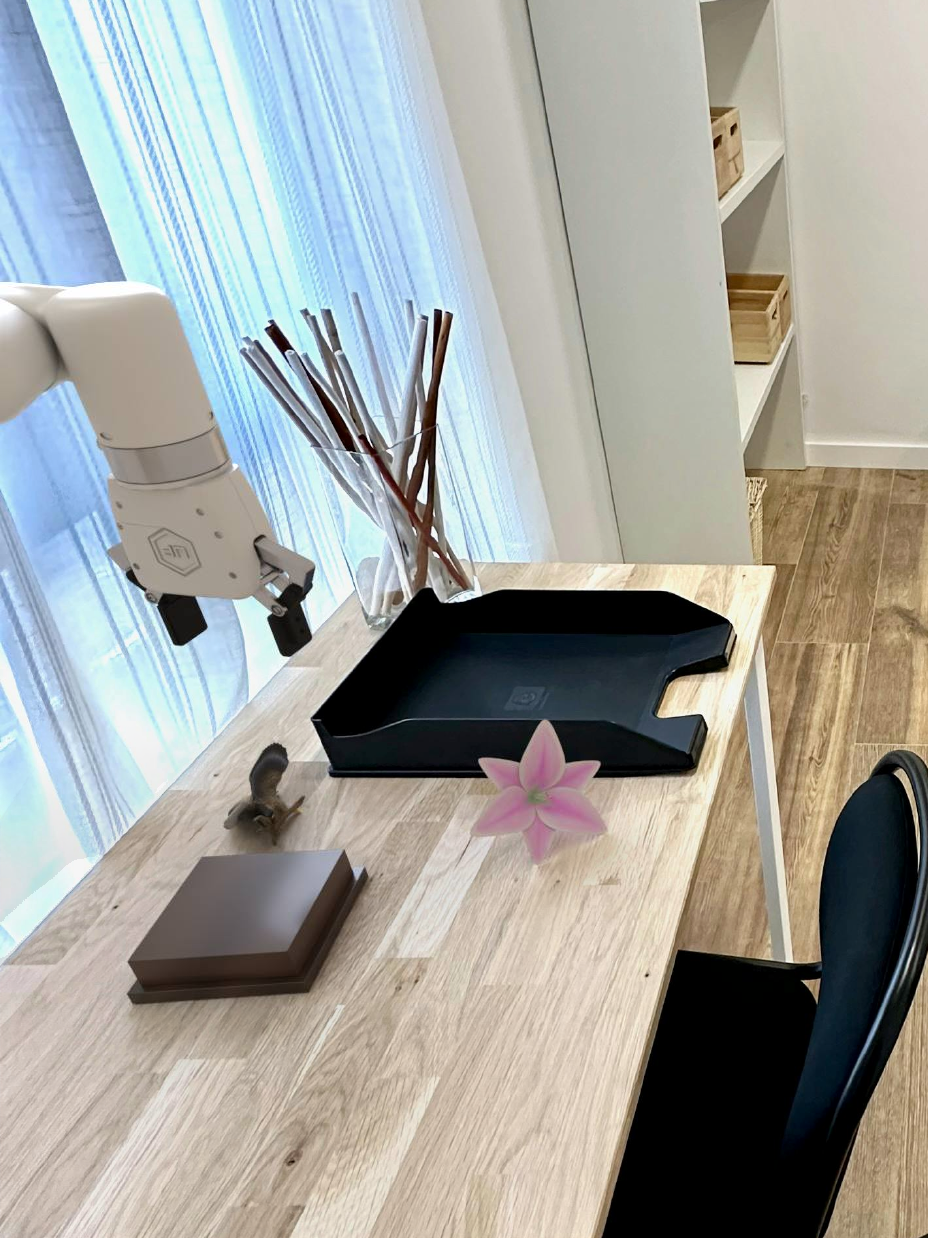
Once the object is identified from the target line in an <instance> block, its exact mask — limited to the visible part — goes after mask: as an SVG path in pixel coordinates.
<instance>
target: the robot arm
mask: <svg viewBox="0 0 928 1238" xmlns="http://www.w3.org/2000/svg"><path fill="white" fill-rule="evenodd" d="M66 382H69V383H72V385H73V386H74V388H75V391H76V393H77V396H78V398H79V400H80V403H81V404H82V408H83V409H84V411H85V413H86V416H87V418H88V421H89V423H90V425H91V428H92V429H93V432H94V434H95V436H96V441H95V442H96V446H97V449H99V450H100V451H102V453H103V455H104V457H105V459H106V462H107V465H108V467H109V469H110V471H111V472H109V473H108V474H107V476H106V486H107V493H108V498H109V503H110V508H111V512H112V515H113V519H114V522H115V526H116V530H117V532H118V535H119V538H120V542H118V543H117V544H115V545H113V546H112V547H111V546H110V548H109V547H108V549H107V550H106V553H107V555H108V557H109V558H110V559H111V560H112V561H113V562H114V563H115V564H116V565H117V566H118V567H119V568H120V569H121V570H122V571H123V572H124V571H125V578H126V579H127V580H128V581H129V582H130V583H132V584H133V585H134V586H136V587H137V588H138V589H140V590H141V591H142V592H144V595H143V596H144V599H145V600H146V602H148V603H149V604H152V605H156V609H157V611H158V614H159V615H160V617H161V620H162V623H163V624H164V626H165V629H166V631H167V634H168V635H169V638H170V640H171V642H172V645H174V646H175V647H183V646H184V647H185V645H187V644H189V642H191V641H193V640H194V639H196V638H197V637H198V636H200V635H201V634H203V633H204V632H205V631H207V630H208V627H209V626H208V623H207V621H206V618H205V616H204V614H203V611H202V609H201V607H200V604H199V601H198V599H197V598H206V599H207V598H209V599H217V600H218V599H219V600H231V601H232V600H233V601H239V600H241V601H242V600H246V599H248V598H250V597H253V598H254V600H256V601H257V602H258V603H260V605H262V606H263V607H264V608H266V609H267V610H268V611H269V612H270V614H269V615H268V616H267V617H266V620H267V624H268V626H269V628H270V632H271V634H272V637H273V639H274V642H275V644H276V646H277V649H278V652H279V654H280V655H281V656H282V657H284V658H291V657H293V656H294V655H295V654H296V653H298V652H300V651H301V650H302V649H303V648H304V647H305V646H307V645H308V644H309V643H310V642H311V641H312V639H313V634H312V631H311V628H310V625H309V623H308V620H307V617H306V614H305V612H304V608H303V605H302V602H304V601H305V600H306V598H307V595H308V594H309V593H310V591H312V589H313V587H314V583H313V581H314V576H315V572H316V563H315V562H314V561H312V560H311V559H309V558H307V557H305V556H303V555H302V554H300V553H297V552H295V551H294V550H291V549H289V548H287V547H285V546H283V545H281V544H279V542H278V540H277V538H276V535H275V532H274V529H273V528H272V525H271V523H270V521H269V519H268V516H267V514H266V512H265V510H264V508H263V506H262V504H261V502H260V500H259V498H258V497H257V495H256V493H255V490H254V489H253V487H252V485H251V484H250V482H249V480H248V479H247V477H246V476H245V474H244V472H243V471H242V469H241V467H240V466H239V465H238V464H237V463H233V461H232V457H231V455H230V451H229V449H228V446H227V444H226V441H225V438H224V436H223V433H222V430H221V428H220V425H219V422H218V420H217V417H216V415H215V413H214V410H213V406H212V404H211V401H210V398H209V395H208V393H207V389H206V387H205V384H204V382H203V378H202V376H201V374H200V371H199V368H198V365H197V362H196V360H195V358H194V355H193V352H192V349H191V346H190V343H189V341H188V339H187V335H186V333H185V331H184V328H183V325H182V322H181V319H180V316H179V314H178V312H177V310H176V307H175V305H174V303H173V300H171V299H170V297H169V296H168V294H166V293H165V292H164V291H163V290H161V289H160V288H158V287H157V286H154V285H151V284H147V283H143V282H136V281H109V282H98V283H91V284H85V285H80V286H74V287H71V286H56V285H42V284H33V283H32V284H31V283H21V282H9V281H8V282H6V281H0V426H3V425H5V424H6V423H9V422H11V421H13V420H14V419H16V418H17V417H18V416H20V415H21V414H22V413H23V412H25V411H26V410H27V409H28V408H30V406H31V405H32V404H33V403H34V402H35V401H36V400H37V399H39V397H40V396H41V395H42V394H45V393H47V392H48V391H51V390H52V389H53V388H56V387H58V386H60V385H62V384H64V383H66ZM285 573H286V574H287V575H288V576H287V575H285ZM270 584H271V585H272V586H274V588H276V589H277V590H279V592H281V593H280V595H278V596H277V595H275V594H274V593H273V592H272V591H270V589H268V588H267V586H269V585H270Z"/></svg>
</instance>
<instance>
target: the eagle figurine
mask: <svg viewBox="0 0 928 1238" xmlns="http://www.w3.org/2000/svg"><path fill="white" fill-rule="evenodd" d="M288 755H289V754H288V752H287V747H286V746H283V744H282V743H279V742H276V741H274V742H273V743H270V744H269V745H267V746H266V747H265V748H264V749H262V751H261V753H260V754H259V756H258V757H257V759H256V761H255V763H254V764H253V766H252V768H251V770H250V772H249V775H248V782H249V785H250V793H251V794H249V795H246V796H244V797H242V798H241V799H240V800H238V802H236V803H235V804H234V805H233V806H232V807H231V808H230V809H229V811H228V813H227V818H226V819H224V821H223V828H224V829H225V830H227V831H230V830H232V829H234V828H235V827H236V826H237V825H239V823H241V822H242V821H243V820H244V819H250V820H252V821H253V822H256V824H258V825H259V826H260V827H262V828H259V829H257V830H256V831H255V832H254V835H256V836H259V835H262V834H263V833H268V835H269V836H270V841H271V845H272V846H276V845H277V844H278V839H279V837H280V836H281V834H282V833H281V832H282V831H283V825H284V824H285V822H286V820H287V819H288V818H289V817H290V816H291V815H292V814H294V813H296V814H301V811H300V809H299V808H300V807H301V806H302V805H303V804H304V801H305V799H306V795H304V794H303V795H301V796H300V797H299V798H298V799H297V800H296V801H295V802H294V803H290V802H287V801H283V800H281V798H280V797H278V794H279V793H280V791H279V790H277V788H278V785H279V784H280V783H281V781H282V778H283V774H284V773H285V772H286V770H287V768H288V766H289V763H290V760H289V758H288Z"/></svg>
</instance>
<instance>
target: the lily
mask: <svg viewBox="0 0 928 1238" xmlns="http://www.w3.org/2000/svg"><path fill="white" fill-rule="evenodd" d="M477 762H478V764H479V766H480V768H481V769H482V771H483V772H484V774H485V775H486V777H487V778H488V779H489V781H490V782H491V783H492V784H493V785H494V786H495V788H496V789H497V790H498V791H499V793H498V794H497V795H496V796H495V797H494V798H493V799H492V801H491V802H490V803H489V804H488V805H487V807H486V808H485V809H484V810H483V811H482V813H480V815H479V816H478V818H477V819H476V820H475V822H474V823H473V825H472V826H471V828H470V830H469V835H470V836H471V837H474V838H486V837H497V836H503V835H504V836H505V835H511V834H516V833H519V832H522V836H523V839H524V842H525V845H526V848H527V851H528V852H529V855H530V858H531V859H532V861H533V863H534V864H535V865H536V866H540V865H541V863H543V860H544V859H546V856H547V854H548V852H549V851H550V848H551V846H552V843H553V842H554V839H555V835H556V833H557V831H559V832H563V833H569V834H570V833H571V834H580V835H591V836H601V835H605V834H607V833H608V827H607V825H606V823H605V820H604V819H603V817H602V816H601V814H600V812H599V811H598V810H597V809H596V807H595V806H594V804H593V803H592V802H591V801H590V799H589V798H588V797H587V796H586V795H585V794H584V793H582V791H583V789H585V788H586V786H588V784H589V783H590V781H591V780H592V779H593V778H594V776H595V775H596V773H597V772H598V771H599V769H600V767H601V761H599V760H580V761H572V762H566V758H565V754H564V751H563V748H562V745H561V742H560V740H559V737H558V734H557V733H556V730H555V728H554V726H553V725H552V723H551V722H550V721H549V720H548V719H546V718H545V719H542V720H541V721H540V723H539V724H538V725H537V727H536V728H535V730H534V732H533V734H532V737H531V738H530V739H529V742H528V744H527V746H526V748H525V750H524V752H523V755H522V757H521V760H520V761H519V762H517V761H513V760H511V759H510V760H509V759H502V758H496V757H495V758H494V757H481V758H480V757H479V758H478V761H477Z"/></svg>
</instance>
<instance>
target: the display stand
mask: <svg viewBox="0 0 928 1238" xmlns="http://www.w3.org/2000/svg"><path fill="white" fill-rule="evenodd" d="M368 878H369V874H368V871H367V868H366V866H352V865H351V862H350V860H349V858H348V855H347V852H346V850H345V848H339V849H321V850H320V849H318V850H302V851H283V852H264V853H246V854H227V855H226V854H225V855H209V856H201V857H200V858H199V860H198V861H197V863H196V864H195V866H194V867H193V868H192V870H191V871H190V873H189V874H188V875H187V877H186V878H185V880H184V881H183V882H182V884H181V885H180V886H179V888H178V890H177V891H176V892H175V893H174V895H173V896H172V898H171V899H170V901H169V902H168V904H167V905H166V906H165V907H164V909H163V911H162V912H161V913H160V914H159V916H158V918H157V919H156V920H155V922H154V923H153V924H152V926H151V927H150V929H149V930H148V931H147V933H146V934H145V936H144V937H143V938H142V940H141V941H140V942H139V944H138V945H137V946H136V948H135V950H134V951H133V953H132V954H131V955H130V957H129V958H128V960H127V964H128V966H129V967H130V969H131V971H132V972H133V974H134V976H135V978H136V980H135V981H134V982H133V984H132V985H131V987H130V988H129V990H128V991H127V993H126V996H127V997H128V998H129V1000H130V1002H131V1004H132V1005H140V1004H153V1003H169V1002H182V1001H183V1002H185V1001H198V1000H199V1001H200V1000H213V999H227V998H241V997H242V998H244V997H257V996H258V997H260V996H273V995H286V994H287V995H289V994H303V993H309V992H310V991H311V988H312V987H313V984H314V983H315V981H316V979H317V978H318V975H319V973H320V971H321V969H322V967H323V965H324V963H325V961H326V960H327V957H328V956H329V954H330V952H331V950H332V948H333V946H334V944H335V942H336V941H337V939H338V936H339V934H340V932H341V930H342V929H343V926H344V924H345V923H346V921H347V919H348V917H349V915H350V913H351V911H352V909H353V907H354V905H355V903H356V901H357V899H358V897H359V896H360V894H361V892H362V890H363V888H364V886H365V884H366V882H367V880H368Z"/></svg>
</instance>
